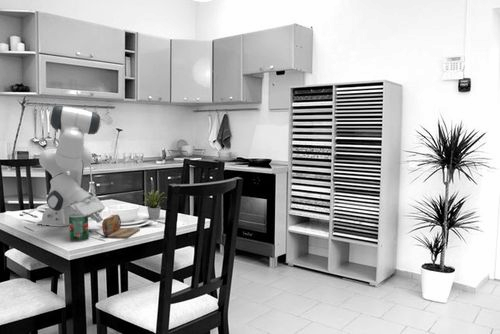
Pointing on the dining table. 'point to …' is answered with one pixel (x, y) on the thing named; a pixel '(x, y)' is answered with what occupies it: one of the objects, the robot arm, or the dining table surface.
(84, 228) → the canned tomato
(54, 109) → the robot arm
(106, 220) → the brown rounded block
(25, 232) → the dining table surface
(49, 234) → the dining table surface
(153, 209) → the house plant
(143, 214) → the dining table surface
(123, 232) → the walnut board
